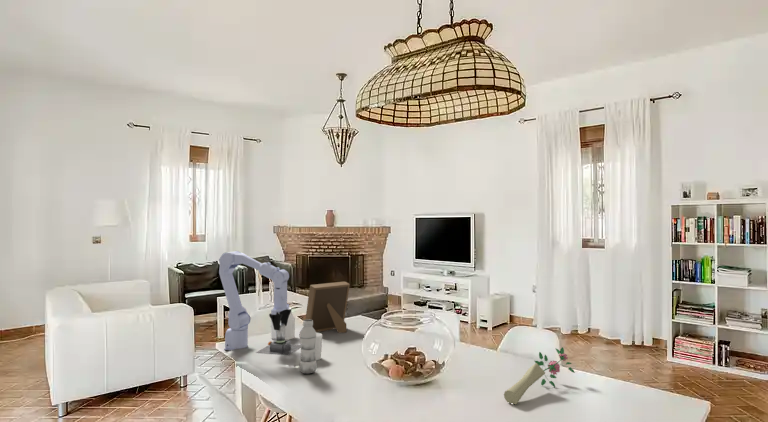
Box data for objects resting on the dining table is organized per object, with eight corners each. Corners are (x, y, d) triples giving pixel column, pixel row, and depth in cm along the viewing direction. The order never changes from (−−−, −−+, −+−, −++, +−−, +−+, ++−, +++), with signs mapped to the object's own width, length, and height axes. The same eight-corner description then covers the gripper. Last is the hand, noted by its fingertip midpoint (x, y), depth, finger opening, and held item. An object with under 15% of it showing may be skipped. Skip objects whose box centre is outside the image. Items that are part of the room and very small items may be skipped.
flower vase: (505, 423, 158) (550, 374, 183) (537, 423, 150) (580, 372, 175) (491, 389, 159) (538, 345, 184) (523, 387, 151) (567, 341, 176)
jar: (267, 339, 235) (267, 308, 236) (280, 335, 244) (281, 305, 244) (284, 342, 229) (285, 311, 230) (298, 338, 238) (298, 307, 238)
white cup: (320, 361, 200) (320, 337, 201) (301, 361, 201) (301, 337, 201) (323, 355, 208) (323, 332, 208) (305, 355, 208) (305, 332, 209)
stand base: (255, 355, 209) (255, 344, 209) (271, 345, 225) (271, 335, 225) (289, 357, 206) (289, 346, 206) (304, 347, 221) (304, 337, 221)
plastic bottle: (313, 376, 182) (313, 322, 182) (296, 374, 183) (296, 322, 184) (319, 370, 188) (319, 319, 188) (302, 369, 190) (302, 318, 190)
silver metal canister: (274, 343, 214) (274, 325, 214) (278, 341, 218) (278, 323, 218) (282, 344, 213) (282, 325, 213) (286, 341, 217) (286, 323, 217)
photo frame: (303, 331, 251) (304, 283, 251) (338, 325, 265) (339, 280, 265) (319, 337, 240) (319, 287, 240) (354, 331, 253) (355, 283, 253)
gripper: (281, 300, 208) (281, 332, 207) (295, 294, 222) (295, 324, 222) (266, 299, 209) (266, 331, 209) (281, 294, 223) (281, 323, 223)
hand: (280, 327), depth 215 cm, fingers open, 7 cm apart
